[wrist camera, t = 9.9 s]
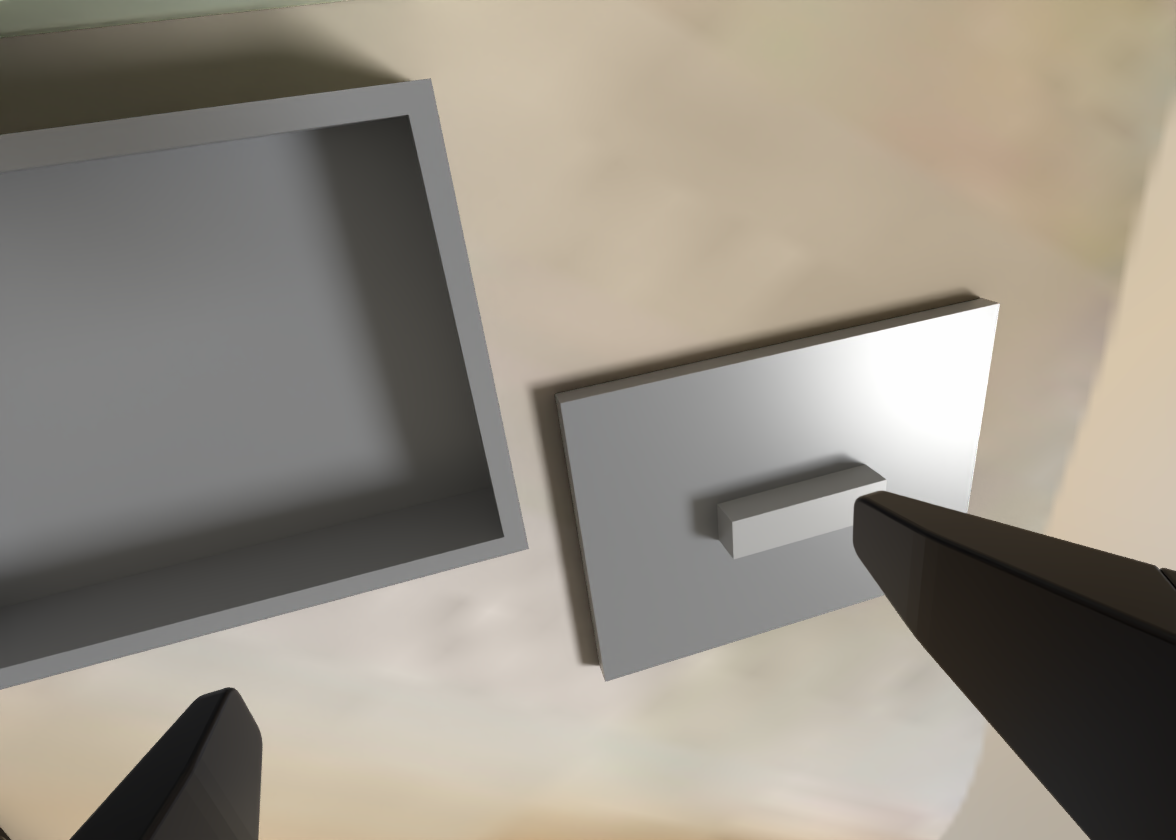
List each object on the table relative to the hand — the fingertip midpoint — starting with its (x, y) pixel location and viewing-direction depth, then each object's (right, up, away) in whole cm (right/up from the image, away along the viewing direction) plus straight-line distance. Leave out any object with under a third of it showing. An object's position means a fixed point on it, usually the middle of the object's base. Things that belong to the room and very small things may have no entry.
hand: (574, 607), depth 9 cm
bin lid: (+8, 0, +16) cm, 17 cm away
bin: (-11, +4, +8) cm, 14 cm away
